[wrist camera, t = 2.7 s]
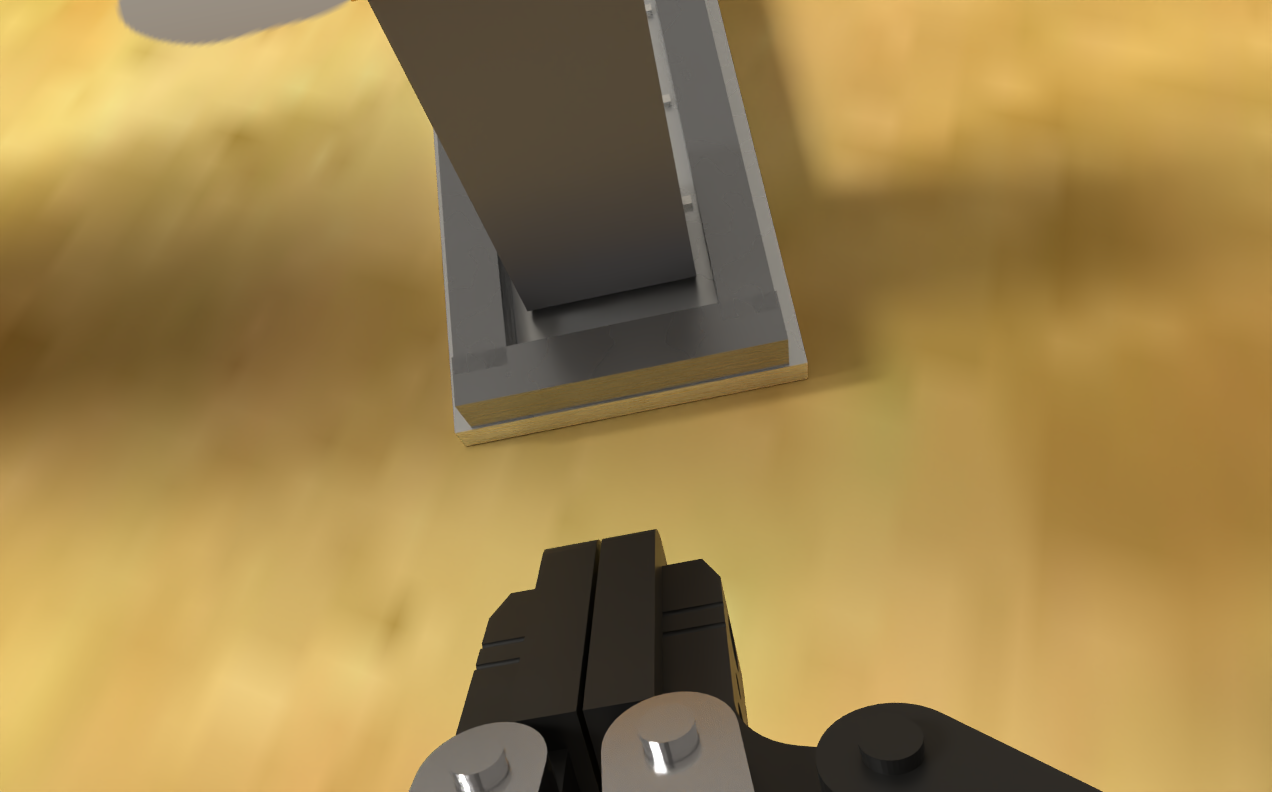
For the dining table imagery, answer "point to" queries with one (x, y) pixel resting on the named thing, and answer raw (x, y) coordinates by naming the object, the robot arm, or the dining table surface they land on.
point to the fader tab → (552, 137)
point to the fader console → (640, 318)
